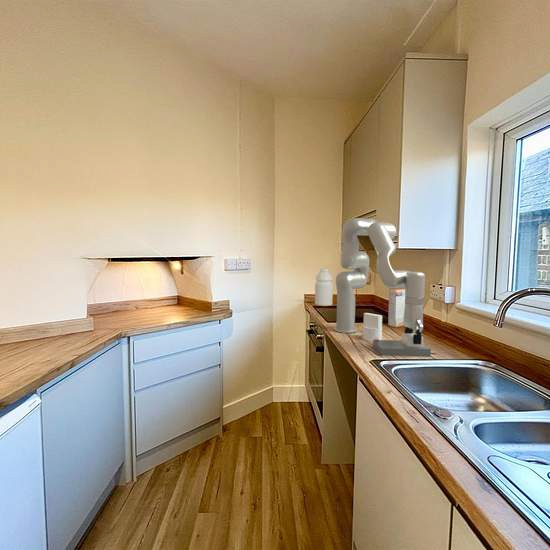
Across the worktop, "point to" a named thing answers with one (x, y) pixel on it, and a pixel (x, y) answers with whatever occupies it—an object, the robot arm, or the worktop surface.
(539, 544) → the worktop surface
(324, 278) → the bottle
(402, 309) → the cracker box
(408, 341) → the plug
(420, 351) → the socket plate
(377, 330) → the base with upright slab
